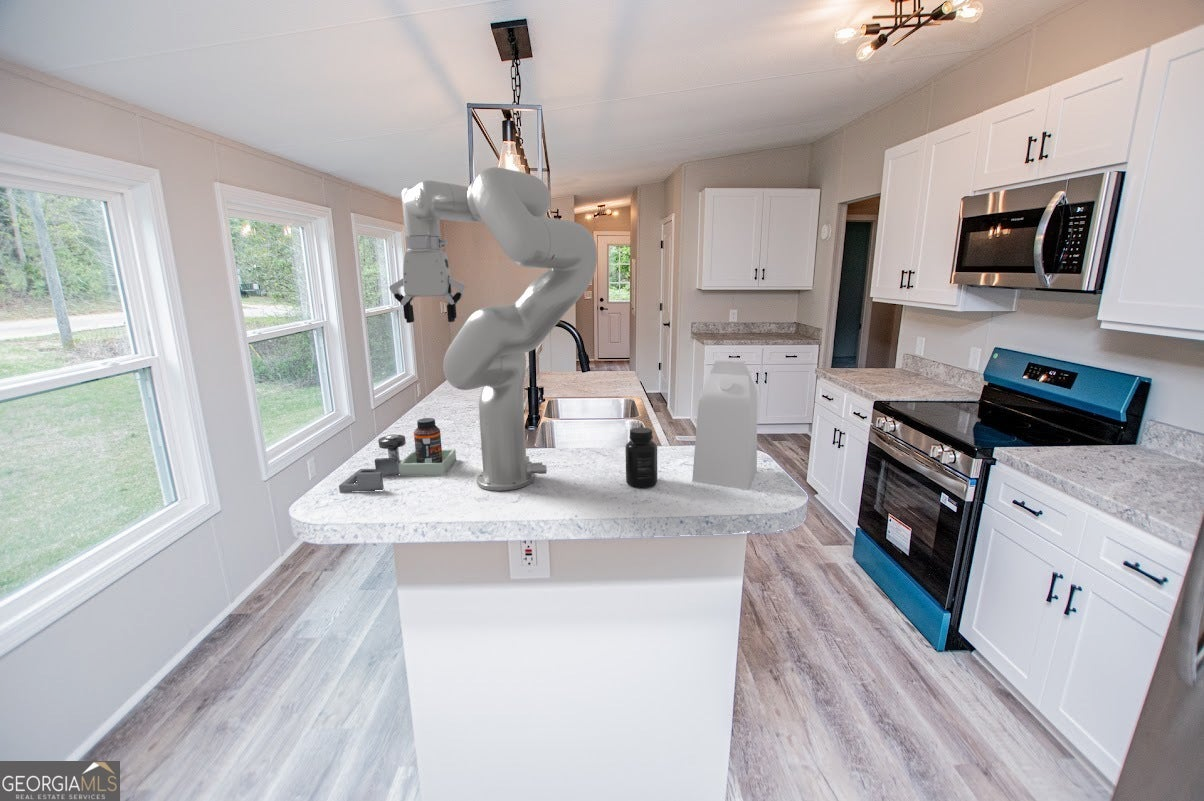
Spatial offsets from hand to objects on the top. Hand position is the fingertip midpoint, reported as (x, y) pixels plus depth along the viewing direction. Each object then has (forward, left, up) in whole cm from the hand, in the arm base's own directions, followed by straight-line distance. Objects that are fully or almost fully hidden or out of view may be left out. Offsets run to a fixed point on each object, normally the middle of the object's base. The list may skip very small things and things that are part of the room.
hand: (431, 322), depth 118 cm
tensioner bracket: (+12, +14, -34) cm, 39 cm away
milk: (-67, +14, -34) cm, 77 cm away
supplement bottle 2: (-48, +17, -34) cm, 62 cm away
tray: (+2, +5, -34) cm, 35 cm away
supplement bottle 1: (+2, +5, -34) cm, 34 cm away
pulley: (+11, +3, -34) cm, 36 cm away
